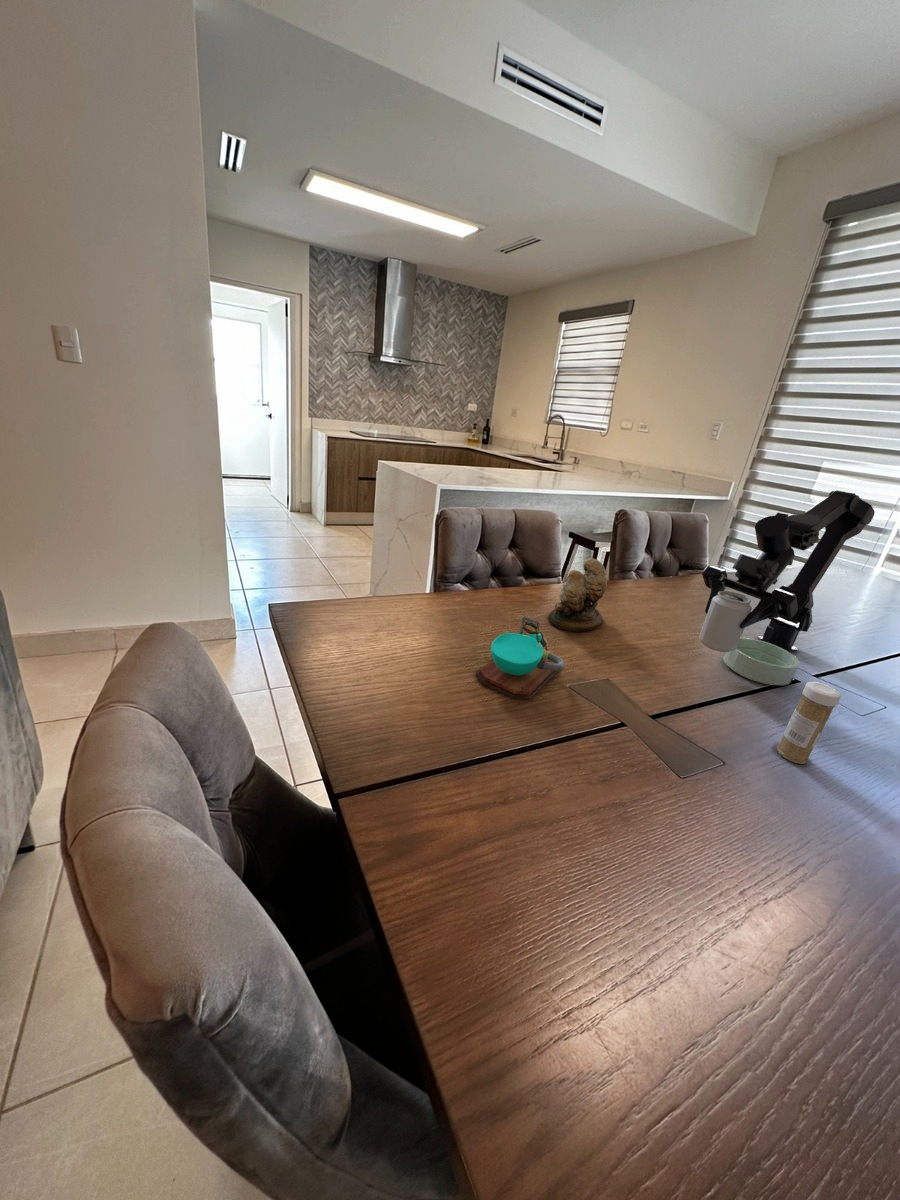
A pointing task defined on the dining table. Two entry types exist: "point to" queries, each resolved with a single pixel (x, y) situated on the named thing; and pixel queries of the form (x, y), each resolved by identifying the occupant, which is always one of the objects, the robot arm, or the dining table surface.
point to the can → (725, 621)
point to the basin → (762, 662)
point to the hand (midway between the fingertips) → (722, 619)
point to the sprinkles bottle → (808, 722)
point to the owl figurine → (581, 598)
